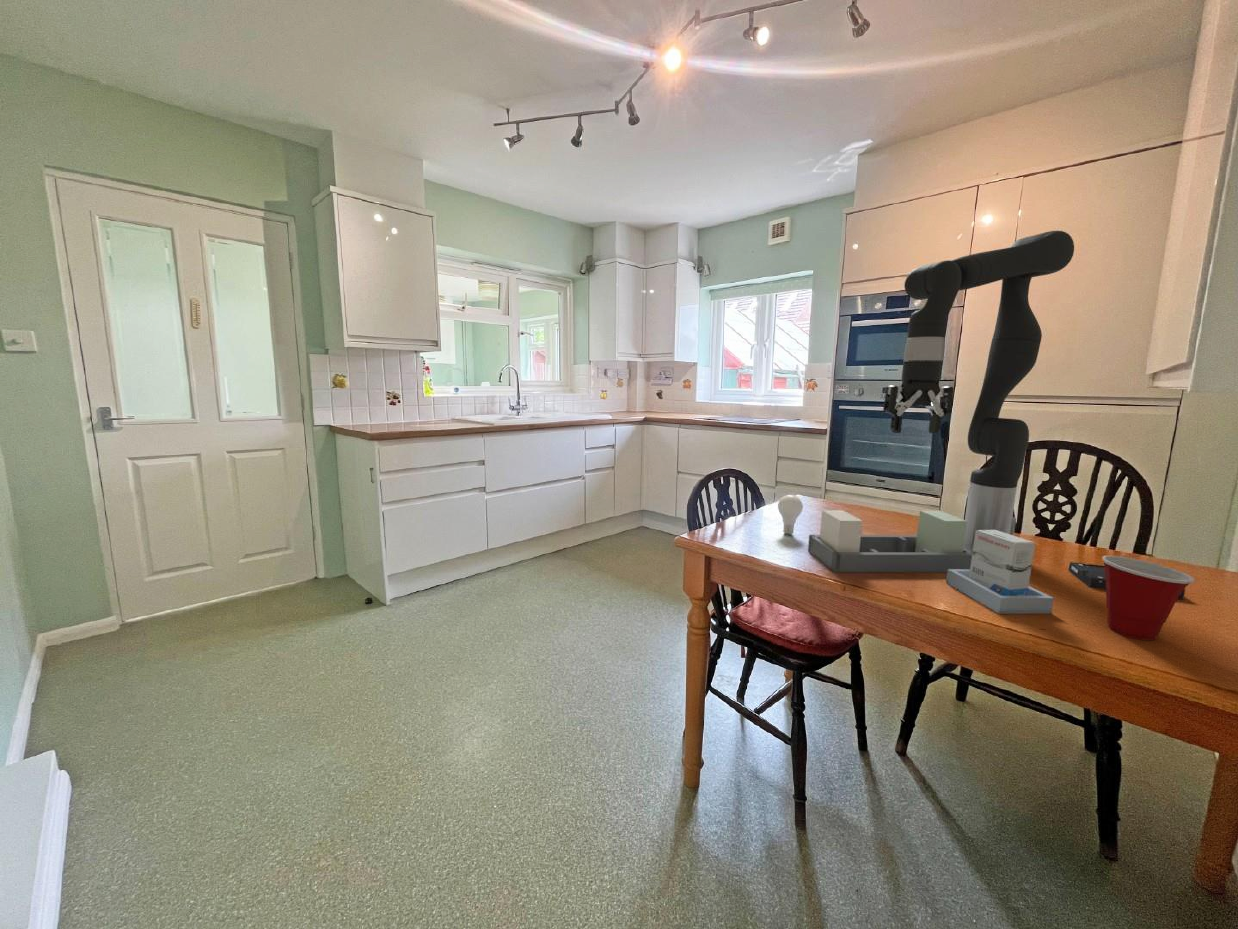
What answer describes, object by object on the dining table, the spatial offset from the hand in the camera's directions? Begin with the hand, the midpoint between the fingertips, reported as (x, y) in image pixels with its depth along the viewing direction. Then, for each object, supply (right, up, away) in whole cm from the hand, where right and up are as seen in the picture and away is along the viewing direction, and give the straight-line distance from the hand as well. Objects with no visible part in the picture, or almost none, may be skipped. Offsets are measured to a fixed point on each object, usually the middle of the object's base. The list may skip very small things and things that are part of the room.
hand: (914, 432), depth 113 cm
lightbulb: (-20, -26, +24) cm, 41 cm away
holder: (-3, -30, +5) cm, 30 cm away
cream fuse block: (-15, -30, +4) cm, 34 cm away
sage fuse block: (+9, -30, +5) cm, 32 cm away
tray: (+7, -33, -14) cm, 37 cm away
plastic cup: (+21, -36, -27) cm, 50 cm away
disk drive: (+40, -33, -7) cm, 52 cm away
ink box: (+8, -33, -14) cm, 36 cm away
